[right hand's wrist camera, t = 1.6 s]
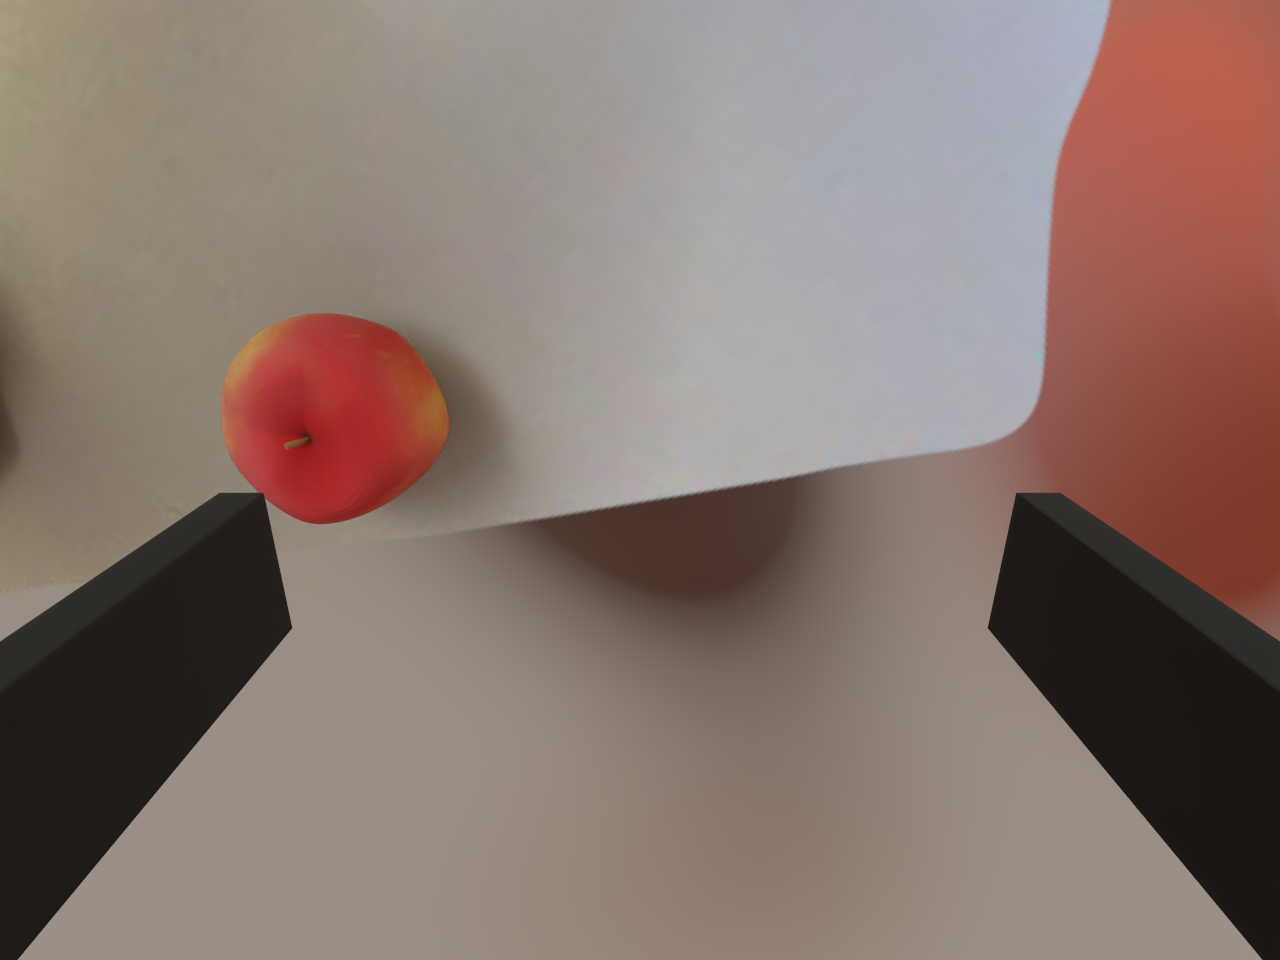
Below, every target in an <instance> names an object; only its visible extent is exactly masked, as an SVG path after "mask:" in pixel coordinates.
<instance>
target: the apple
mask: <svg viewBox="0 0 1280 960" xmlns="http://www.w3.org/2000/svg"><path fill="white" fill-rule="evenodd" d="M221 422H222V431H223V436H224V441H225V444H226V448H227V450H228V452H229V455H230V457H231V459H232V460H233V462H234V464H235V465H236V467H237V468H238V469H239V471H240V472H241V474H242V475H243V476H244V477H245V478H246V480H247V481H248V482H249V483H250V484H251V485H252V486H253V487H254V488H255V489H256V490H257V491H258V492H259V493H264V497H265V498H266V499H267V500H268V501H269V502H271V503H272V504H273V505H275V506H276V507H277V508H279V509H280V510H282V511H283V512H285V513H286V514H288V515H290V516H292V517H294V518H296V519H298V520H301V521H304V522H307V523H313V524H330V523H336V522H342V521H346V520H349V519H353V518H356V517H359V516H361V515H364V514H366V513H369V512H371V511H373V510H375V509H377V508H379V507H381V506H383V505H385V504H387V503H388V502H390V501H391V500H393V499H395V498H396V497H397V496H399V495H400V494H402V493H403V492H404V491H406V490H407V489H408V488H409V487H410V486H412V485H413V484H414V483H415V482H416V481H417V480H418V479H419V478H420V477H422V476H423V474H424V473H425V472H426V471H427V470H428V469H429V468H430V467H431V466H432V464H433V463H434V461H435V460H436V459H437V457H438V455H439V454H440V452H441V450H442V448H443V446H444V444H445V442H446V439H447V436H448V432H449V416H448V411H447V407H446V403H445V400H444V397H443V394H442V392H441V389H440V387H439V385H438V383H437V382H436V380H435V378H434V376H433V375H432V373H431V372H430V370H429V369H428V367H427V366H426V364H425V363H424V361H423V360H422V359H421V357H420V356H419V355H418V353H417V352H416V351H415V349H414V348H413V347H412V346H411V345H410V344H409V343H408V341H406V340H405V339H404V338H403V337H402V336H401V335H400V334H398V333H397V332H395V331H393V330H392V329H390V328H387V327H385V326H383V325H380V324H377V323H374V322H371V321H367V320H364V319H360V318H356V317H352V316H347V315H341V314H330V313H321V314H307V315H302V316H297V317H293V318H290V319H287V320H284V321H281V322H278V323H276V324H274V325H271V326H269V327H267V328H265V329H263V330H262V331H260V332H259V333H258V334H256V335H255V336H254V337H253V338H252V339H251V340H250V341H249V342H247V343H246V345H245V346H244V347H243V348H242V349H241V351H240V352H239V353H238V355H237V356H236V358H235V359H234V361H233V362H232V364H231V366H230V368H229V370H228V372H227V375H226V378H225V381H224V384H223V389H222V397H221Z"/></svg>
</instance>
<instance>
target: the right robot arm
mask: <svg viewBox="0 0 1280 960" xmlns="http://www.w3.org/2000/svg"><path fill="white" fill-rule="evenodd" d="M291 629H292V625H291V620H290V615H289V611H288V606H287V601H286V597H285V592H284V587H283V582H282V578H281V573H280V568H279V563H278V559H277V554H276V549H275V545H274V540H273V535H272V530H271V526H270V521H269V516H268V511H267V507H266V502H265V497H264V493H219V494H217V495H216V496H214V497H213V498H211V499H210V500H208V501H207V502H205V503H204V504H203V505H201V506H200V507H198V508H197V509H195V510H194V511H192V512H191V513H189V514H188V515H186V516H185V517H183V518H182V519H180V520H179V521H177V522H176V523H174V524H173V525H172V526H170V527H169V528H167V529H166V530H164V531H163V532H161V533H160V534H158V535H157V536H155V537H154V538H152V539H151V540H149V541H148V542H146V543H145V544H143V545H142V546H141V547H139V548H138V549H136V550H135V551H133V552H132V553H130V554H129V555H127V556H126V557H124V558H123V559H121V560H120V561H118V562H117V563H115V564H114V565H112V566H111V567H110V568H108V569H107V570H105V571H104V572H102V573H101V574H99V575H98V576H96V577H95V578H93V579H92V580H90V581H89V582H87V583H86V584H84V585H83V586H82V587H80V588H79V589H77V590H76V591H74V592H73V593H71V594H70V595H68V596H67V597H65V598H64V599H62V600H61V601H59V602H58V603H56V604H55V605H53V606H52V607H51V608H49V609H48V610H46V611H45V612H43V613H42V614H40V615H39V616H37V617H36V618H34V619H33V620H31V621H30V622H28V623H27V624H25V625H24V626H23V627H21V628H19V629H18V630H17V631H15V632H14V633H12V634H11V635H9V636H8V637H6V638H5V639H3V640H2V641H0V960H18V958H19V957H20V956H21V955H22V954H23V952H24V951H25V950H26V949H27V948H28V946H29V945H30V944H31V943H32V942H33V940H34V939H35V938H36V937H37V936H38V934H39V933H40V932H41V931H42V929H43V928H44V927H45V926H46V925H47V923H48V922H49V921H50V920H51V919H52V917H53V916H54V915H55V914H56V913H57V911H58V910H59V909H60V908H61V907H62V905H63V904H64V903H65V902H66V901H67V899H68V898H69V897H70V896H71V895H72V893H73V892H74V891H75V890H76V888H77V887H78V886H79V885H80V884H81V882H82V881H83V880H84V879H85V878H86V876H87V875H88V874H89V873H90V871H91V870H92V869H93V868H94V867H95V866H96V864H97V863H98V862H99V861H100V859H101V858H102V857H103V856H104V855H105V853H106V852H107V851H108V850H109V849H110V847H111V846H112V845H113V844H114V843H115V841H116V840H117V839H118V838H119V837H120V835H121V834H122V833H123V832H124V831H125V829H126V828H127V827H128V826H129V824H130V823H131V822H132V821H133V820H134V818H135V817H136V816H137V815H138V814H139V812H140V811H141V810H142V809H143V808H144V806H145V805H146V804H147V803H148V801H149V800H150V799H151V798H152V797H153V796H154V794H155V793H156V792H157V791H158V789H159V788H160V787H161V786H162V785H163V783H164V782H165V781H166V780H167V779H168V777H169V776H170V775H171V774H172V773H173V771H174V770H175V769H176V768H177V767H178V765H179V764H180V763H181V762H182V760H183V759H184V758H185V757H186V756H187V754H188V753H189V752H190V751H191V750H192V748H193V747H194V746H195V745H196V744H197V742H198V741H199V740H200V739H201V737H202V736H203V735H204V734H205V733H206V732H207V730H208V729H209V728H210V727H211V725H212V724H213V723H214V722H215V721H216V719H217V718H218V717H219V716H220V715H221V713H222V712H223V711H224V710H225V709H226V707H227V706H228V705H229V704H230V702H231V701H232V700H233V699H234V698H235V697H236V695H237V694H238V693H239V692H240V690H241V689H242V688H243V687H244V686H245V684H246V683H247V682H248V681H249V680H250V678H251V677H252V676H253V675H254V674H255V672H256V671H257V670H258V669H259V668H260V666H261V665H262V664H263V663H264V661H265V660H266V659H267V658H268V657H269V655H270V654H271V653H272V652H273V651H274V649H275V648H276V647H277V646H278V645H279V643H280V642H281V641H282V640H283V638H284V637H285V636H286V635H287V634H288V633H289V631H290V630H291ZM988 629H989V630H990V631H991V633H992V634H993V635H994V636H995V637H996V639H997V640H998V641H999V642H1000V643H1001V645H1002V646H1003V647H1004V648H1005V649H1006V651H1007V652H1008V653H1009V654H1010V655H1011V657H1012V658H1013V659H1014V660H1015V662H1016V663H1017V664H1018V665H1019V666H1020V668H1021V669H1022V670H1023V671H1024V672H1025V674H1026V675H1027V676H1028V677H1029V678H1030V680H1031V681H1032V682H1033V683H1034V684H1035V686H1036V687H1037V688H1038V689H1039V690H1040V692H1041V693H1042V694H1043V695H1044V697H1045V698H1046V699H1047V700H1048V701H1049V703H1050V704H1051V705H1052V706H1053V707H1054V709H1055V710H1056V711H1057V712H1058V713H1059V715H1060V716H1061V717H1062V718H1063V719H1064V721H1065V722H1066V723H1067V724H1068V725H1069V727H1070V728H1071V729H1072V730H1073V732H1074V733H1075V734H1076V735H1077V736H1078V737H1079V739H1080V740H1081V741H1082V742H1083V744H1084V745H1085V746H1086V747H1087V748H1088V750H1089V751H1090V752H1091V753H1092V754H1093V756H1094V757H1095V758H1096V759H1097V760H1098V762H1099V763H1100V764H1101V765H1102V767H1103V768H1104V769H1105V770H1106V771H1107V773H1108V774H1109V775H1110V776H1111V777H1112V778H1113V780H1114V781H1115V782H1116V783H1117V785H1118V786H1119V787H1120V788H1121V789H1122V791H1123V792H1124V793H1125V794H1126V795H1127V797H1128V798H1129V799H1130V800H1131V802H1132V803H1133V804H1134V805H1135V806H1136V808H1137V809H1138V810H1139V811H1140V812H1141V814H1142V815H1143V816H1144V817H1145V818H1146V820H1147V821H1148V822H1149V823H1150V824H1151V826H1152V827H1153V828H1154V829H1155V831H1156V832H1157V833H1158V834H1159V835H1160V837H1161V838H1162V839H1163V840H1164V841H1165V843H1166V844H1167V845H1168V846H1169V847H1170V849H1171V850H1172V851H1173V852H1174V853H1175V855H1176V856H1177V857H1178V858H1179V859H1180V861H1181V862H1182V863H1183V864H1184V866H1185V867H1186V868H1187V869H1188V870H1189V872H1190V873H1191V874H1192V875H1193V876H1194V878H1195V879H1196V880H1197V881H1198V882H1199V884H1200V885H1201V886H1202V887H1203V888H1204V890H1205V891H1206V892H1207V893H1208V894H1209V896H1210V897H1211V898H1212V899H1213V901H1214V902H1215V903H1216V904H1217V905H1218V907H1219V908H1220V909H1221V910H1222V911H1223V913H1224V914H1225V915H1226V916H1227V917H1228V919H1229V920H1230V921H1231V922H1232V923H1233V925H1234V926H1235V927H1236V928H1237V929H1238V931H1239V932H1240V933H1241V934H1242V936H1243V937H1244V938H1245V939H1246V940H1247V942H1248V943H1249V944H1250V945H1251V946H1252V948H1253V949H1254V950H1255V951H1256V952H1257V954H1258V955H1259V956H1260V957H1261V958H1262V960H1280V641H1278V640H1277V639H1275V638H1274V637H1272V636H1271V635H1269V634H1268V633H1266V632H1265V631H1263V630H1262V629H1260V628H1259V627H1258V626H1256V625H1255V624H1253V623H1252V622H1250V621H1249V620H1247V619H1246V618H1244V617H1243V616H1241V615H1240V614H1238V613H1237V612H1235V611H1234V610H1232V609H1231V608H1229V607H1228V606H1227V605H1225V604H1224V603H1222V602H1221V601H1219V600H1218V599H1216V598H1215V597H1213V596H1212V595H1210V594H1209V593H1207V592H1206V591H1204V590H1203V589H1201V588H1200V587H1199V586H1197V585H1196V584H1194V583H1193V582H1191V581H1190V580H1188V579H1187V578H1185V577H1184V576H1182V575H1181V574H1179V573H1178V572H1176V571H1175V570H1173V569H1172V568H1170V567H1169V566H1168V565H1166V564H1165V563H1163V562H1162V561H1160V560H1159V559H1157V558H1156V557H1154V556H1153V555H1151V554H1150V553H1148V552H1147V551H1145V550H1144V549H1142V548H1141V547H1139V546H1138V545H1137V544H1135V543H1134V542H1132V541H1131V540H1129V539H1128V538H1126V537H1125V536H1123V535H1122V534H1120V533H1119V532H1117V531H1116V530H1114V529H1113V528H1111V527H1110V526H1108V525H1107V524H1106V523H1104V522H1103V521H1101V520H1100V519H1098V518H1097V517H1095V516H1094V515H1092V514H1091V513H1089V512H1088V511H1086V510H1085V509H1083V508H1082V507H1080V506H1079V505H1077V504H1076V503H1075V502H1073V501H1072V500H1070V499H1069V498H1067V497H1066V496H1064V495H1063V494H1061V493H1016V497H1015V502H1014V507H1013V511H1012V516H1011V521H1010V526H1009V530H1008V535H1007V540H1006V544H1005V549H1004V554H1003V559H1002V563H1001V568H1000V573H999V578H998V582H997V587H996V592H995V597H994V601H993V606H992V611H991V615H990V620H989V625H988Z"/></svg>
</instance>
